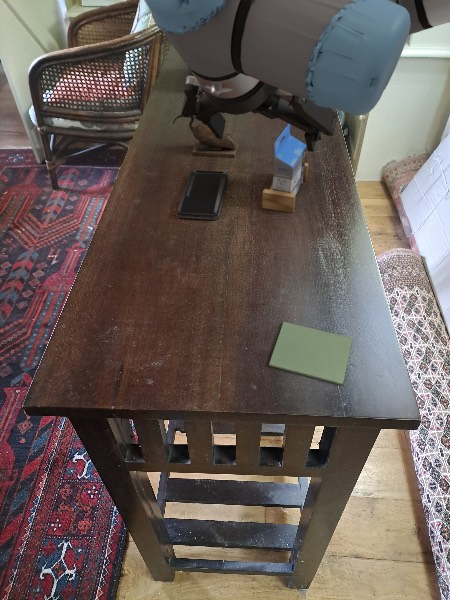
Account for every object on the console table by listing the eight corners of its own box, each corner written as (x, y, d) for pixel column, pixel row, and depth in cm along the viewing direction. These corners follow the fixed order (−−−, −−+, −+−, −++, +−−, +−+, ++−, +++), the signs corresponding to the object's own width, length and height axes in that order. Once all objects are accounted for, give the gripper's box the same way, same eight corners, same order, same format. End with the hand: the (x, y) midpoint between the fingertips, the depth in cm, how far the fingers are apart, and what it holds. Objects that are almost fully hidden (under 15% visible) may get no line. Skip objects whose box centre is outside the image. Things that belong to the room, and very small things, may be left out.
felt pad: (351, 339, 65) (352, 337, 65) (342, 385, 60) (343, 383, 60) (283, 323, 67) (283, 321, 67) (268, 366, 62) (268, 364, 62)
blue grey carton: (290, 207, 87) (295, 147, 78) (270, 203, 88) (273, 143, 79) (303, 183, 93) (310, 124, 84) (285, 179, 94) (289, 121, 85)
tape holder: (307, 178, 94) (308, 163, 91) (292, 213, 86) (294, 197, 83) (278, 174, 95) (279, 158, 93) (262, 207, 87) (262, 192, 85)
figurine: (173, 154, 102) (168, 116, 96) (178, 144, 105) (174, 106, 99) (235, 157, 100) (234, 119, 94) (238, 147, 103) (238, 109, 97)
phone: (228, 171, 94) (217, 215, 84) (228, 176, 95) (218, 220, 85) (190, 170, 95) (175, 213, 85) (191, 175, 96) (176, 217, 86)
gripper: (113, 88, 49) (181, 149, 69) (349, 116, 43) (347, 174, 63) (127, 16, 48) (191, 99, 69) (368, 35, 42) (359, 120, 63)
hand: (266, 135), depth 66 cm, fingers open, 13 cm apart
